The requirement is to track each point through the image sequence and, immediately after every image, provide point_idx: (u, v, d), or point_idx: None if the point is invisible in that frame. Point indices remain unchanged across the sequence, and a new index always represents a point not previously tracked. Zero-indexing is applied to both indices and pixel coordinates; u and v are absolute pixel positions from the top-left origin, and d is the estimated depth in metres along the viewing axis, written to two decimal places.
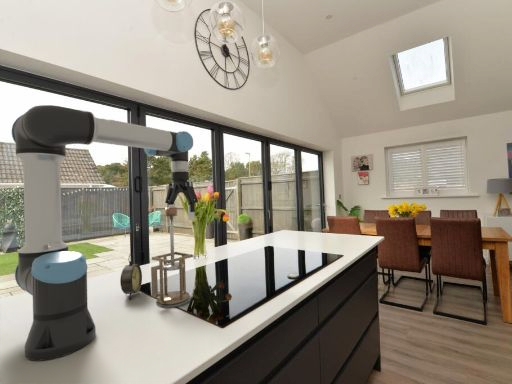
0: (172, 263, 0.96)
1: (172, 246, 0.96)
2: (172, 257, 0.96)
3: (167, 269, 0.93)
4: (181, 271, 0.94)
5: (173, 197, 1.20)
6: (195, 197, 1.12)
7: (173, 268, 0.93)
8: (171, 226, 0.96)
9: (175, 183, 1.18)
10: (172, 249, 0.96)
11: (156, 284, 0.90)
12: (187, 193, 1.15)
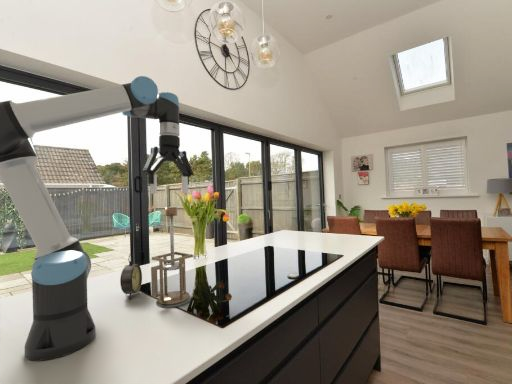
0: (172, 263, 0.96)
1: (172, 246, 0.96)
2: (172, 257, 0.96)
3: (167, 269, 0.93)
4: (181, 271, 0.94)
5: (179, 168, 1.02)
6: (147, 165, 0.90)
7: (173, 268, 0.93)
8: (171, 226, 0.96)
9: None
10: (172, 249, 0.96)
11: (156, 284, 0.90)
12: (157, 161, 0.94)
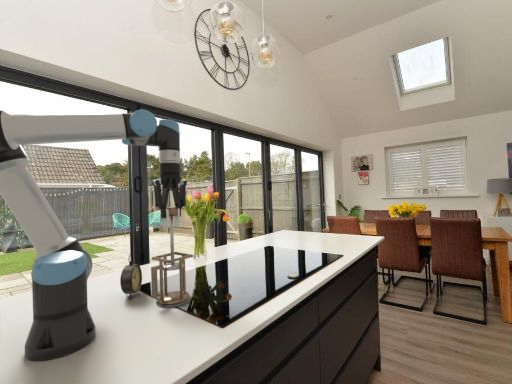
0: (172, 263, 0.96)
1: (172, 246, 0.96)
2: (172, 257, 0.96)
3: (167, 269, 0.93)
4: (181, 271, 0.94)
5: (174, 196, 0.99)
6: (157, 201, 0.92)
7: (173, 268, 0.93)
8: (171, 226, 0.96)
9: None
10: (172, 249, 0.96)
11: (156, 284, 0.90)
12: (163, 193, 0.95)
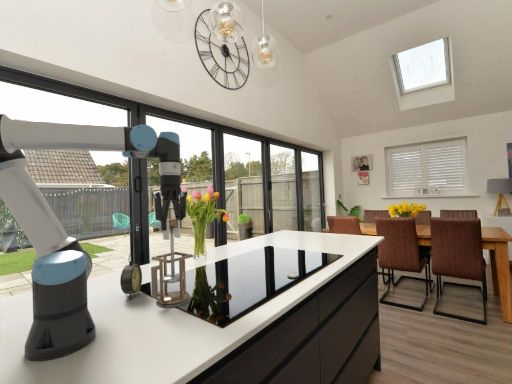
0: (172, 275, 0.96)
1: (172, 258, 0.96)
2: (172, 269, 0.96)
3: (167, 281, 0.93)
4: (181, 271, 0.94)
5: (174, 208, 0.99)
6: (157, 214, 0.92)
7: (173, 280, 0.93)
8: (171, 238, 0.96)
9: None
10: None
11: (156, 284, 0.90)
12: (163, 205, 0.95)
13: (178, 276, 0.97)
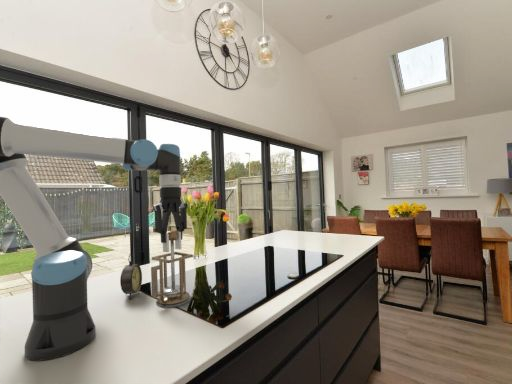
0: (173, 287, 0.96)
1: (173, 270, 0.96)
2: (173, 281, 0.96)
3: (168, 294, 0.93)
4: (181, 271, 0.94)
5: (175, 220, 0.99)
6: (157, 226, 0.92)
7: (174, 293, 0.93)
8: (172, 250, 0.96)
9: None
10: (173, 273, 0.96)
11: (156, 284, 0.90)
12: (163, 218, 0.95)
13: (178, 288, 0.97)
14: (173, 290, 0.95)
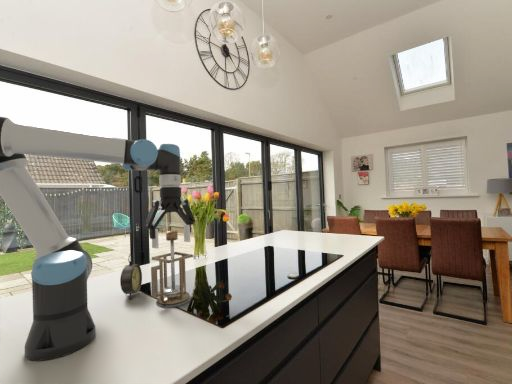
0: (173, 287, 0.96)
1: (173, 270, 0.96)
2: (173, 281, 0.96)
3: (168, 294, 0.93)
4: (181, 271, 0.94)
5: (181, 216, 1.01)
6: (148, 221, 0.89)
7: (174, 293, 0.93)
8: (172, 250, 0.96)
9: None
10: (173, 273, 0.96)
11: (156, 284, 0.90)
12: (158, 214, 0.93)
13: (178, 288, 0.97)
14: (173, 290, 0.95)
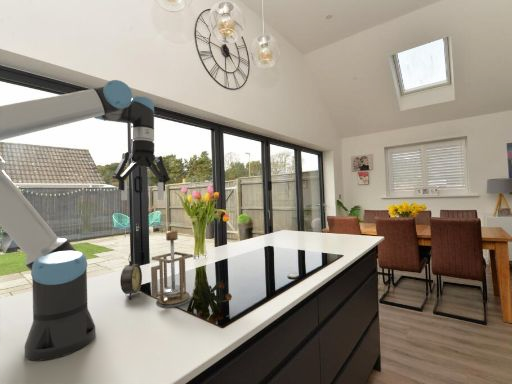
0: (173, 287, 0.96)
1: (173, 270, 0.96)
2: (173, 281, 0.96)
3: (168, 294, 0.93)
4: (181, 271, 0.94)
5: (154, 173, 0.99)
6: (117, 171, 0.88)
7: (174, 293, 0.93)
8: (172, 250, 0.96)
9: None
10: (173, 273, 0.96)
11: (156, 284, 0.90)
12: (129, 167, 0.92)
13: (178, 288, 0.97)
14: (173, 290, 0.95)
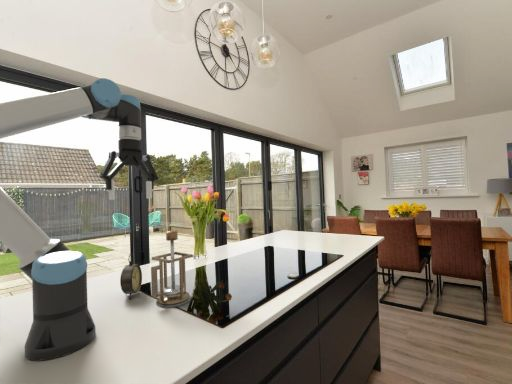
0: (173, 287, 0.96)
1: (173, 270, 0.96)
2: (173, 281, 0.96)
3: (168, 294, 0.93)
4: (181, 271, 0.94)
5: (142, 172, 0.99)
6: (103, 171, 0.87)
7: (174, 293, 0.93)
8: (172, 250, 0.96)
9: None
10: (173, 273, 0.96)
11: (156, 284, 0.90)
12: (116, 166, 0.91)
13: (178, 288, 0.97)
14: (173, 290, 0.95)
